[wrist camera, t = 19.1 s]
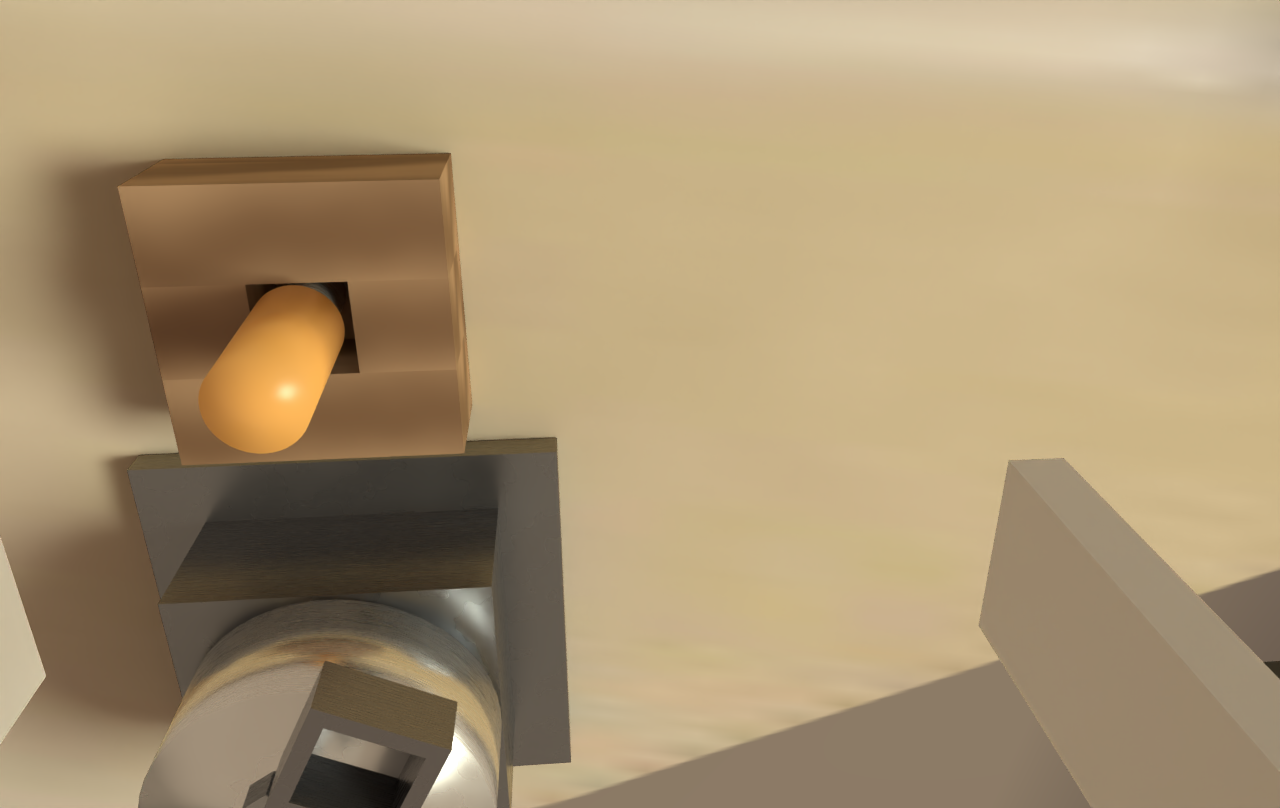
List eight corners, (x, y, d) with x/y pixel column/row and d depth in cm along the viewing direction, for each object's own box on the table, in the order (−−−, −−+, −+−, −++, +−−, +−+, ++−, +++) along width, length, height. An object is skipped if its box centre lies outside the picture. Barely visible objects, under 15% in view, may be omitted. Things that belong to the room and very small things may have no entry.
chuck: (248, 535, 40) (176, 680, 33) (560, 641, 44) (563, 794, 36) (148, 789, 46) (66, 966, 38) (435, 865, 49) (413, 1040, 42)
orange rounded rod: (271, 249, 43) (186, 361, 32) (355, 244, 43) (300, 352, 32) (287, 327, 44) (212, 457, 34) (368, 321, 45) (319, 449, 34)
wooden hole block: (163, 159, 42) (117, 186, 37) (450, 153, 43) (439, 179, 38) (217, 414, 47) (181, 465, 43) (472, 404, 48) (464, 453, 43)
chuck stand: (139, 455, 48) (66, 548, 40) (556, 437, 49) (558, 524, 42) (217, 765, 56) (168, 888, 49) (570, 742, 58) (573, 858, 50)
